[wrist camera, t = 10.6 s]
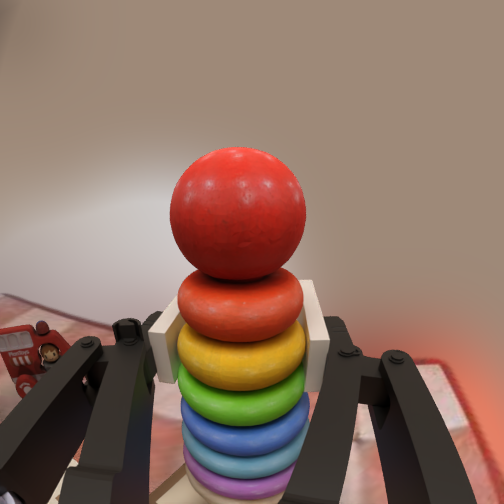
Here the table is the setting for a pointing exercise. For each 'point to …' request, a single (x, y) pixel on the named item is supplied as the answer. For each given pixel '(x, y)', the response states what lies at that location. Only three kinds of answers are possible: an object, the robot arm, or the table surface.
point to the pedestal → (176, 491)
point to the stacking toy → (240, 325)
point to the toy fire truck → (30, 353)
